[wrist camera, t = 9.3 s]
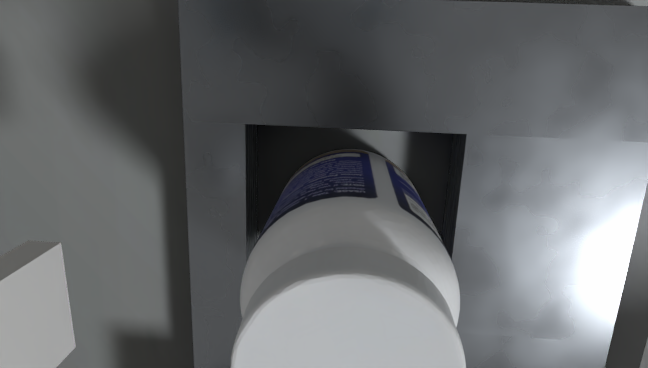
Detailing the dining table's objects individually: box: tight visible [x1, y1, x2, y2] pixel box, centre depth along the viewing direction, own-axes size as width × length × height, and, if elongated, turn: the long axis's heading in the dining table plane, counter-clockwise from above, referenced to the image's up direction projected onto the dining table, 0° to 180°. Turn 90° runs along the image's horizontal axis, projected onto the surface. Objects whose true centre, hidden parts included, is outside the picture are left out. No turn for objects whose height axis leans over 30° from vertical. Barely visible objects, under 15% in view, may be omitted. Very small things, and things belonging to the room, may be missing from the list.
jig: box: [178, 0, 648, 368], centre depth 16 cm, size 20×16×5 cm
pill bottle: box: [231, 149, 466, 368], centre depth 13 cm, size 6×6×10 cm
